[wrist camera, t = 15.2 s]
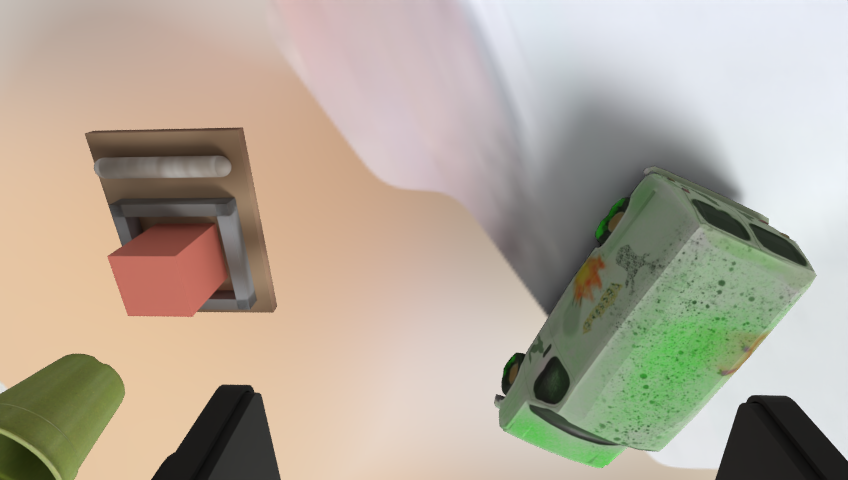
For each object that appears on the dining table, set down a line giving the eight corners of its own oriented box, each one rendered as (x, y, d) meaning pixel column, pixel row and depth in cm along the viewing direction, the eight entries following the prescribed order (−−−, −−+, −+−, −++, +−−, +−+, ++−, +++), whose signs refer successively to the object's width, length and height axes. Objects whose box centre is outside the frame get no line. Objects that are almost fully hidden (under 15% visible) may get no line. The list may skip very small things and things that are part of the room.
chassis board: (93, 130, 37) (69, 138, 35) (242, 127, 36) (227, 135, 34) (150, 305, 44) (132, 321, 41) (277, 306, 43) (266, 322, 40)
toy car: (488, 386, 45) (496, 478, 36) (637, 153, 35) (699, 199, 26) (587, 424, 46) (618, 522, 37) (758, 209, 36) (858, 271, 27)
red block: (156, 223, 39) (107, 256, 33) (215, 223, 38) (175, 256, 33) (172, 276, 41) (128, 315, 35) (227, 277, 41) (192, 316, 35)
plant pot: (82, 312, 44) (-30, 399, 34) (172, 397, 48) (95, 498, 38) (7, 362, 48) (-116, 454, 38) (96, 438, 52) (7, 540, 41)
